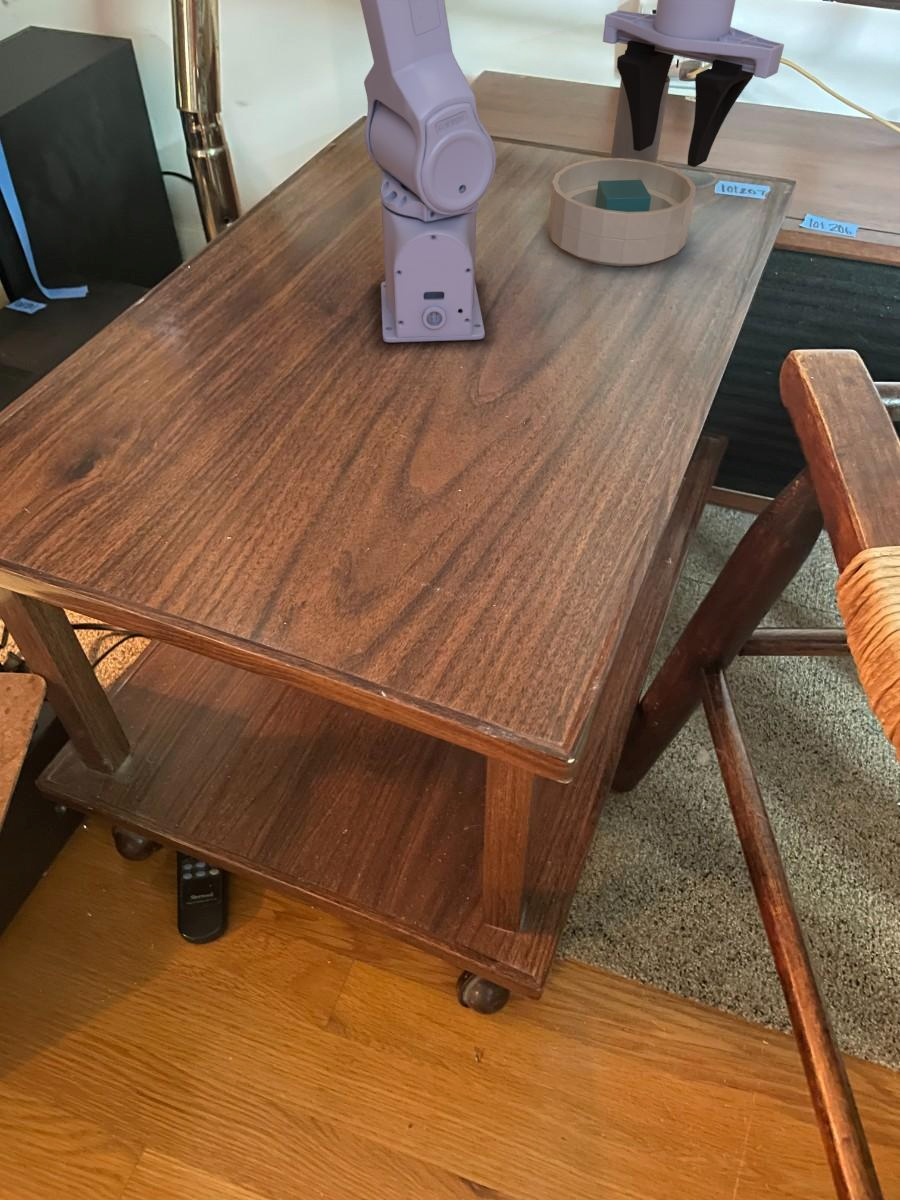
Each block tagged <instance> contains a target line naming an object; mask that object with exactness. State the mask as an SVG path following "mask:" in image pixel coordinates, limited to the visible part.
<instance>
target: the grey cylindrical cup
mask: <svg viewBox="0 0 900 1200" xmlns="http://www.w3.org/2000/svg"><path fill="white" fill-rule="evenodd" d="M670 83H671V77H670V75H668V76H667V79H666V83H665V86H664V90H663V94H662V98H661V103H660V109H659V116H658V123H657V129H656V134H655V137H654V141H653V144H652V145H651V146H649V147H647V148H645V149H643V150H641V151H637V150H634V149H633V133H632V123H631V115H630V109H629V103H628V99H627V95H626V91H625V88H624V84H623V81H622V79H621V78H620V84H619V92H618V98H617V99H618V101H617V109H616V115H615V122H614V131H613V139H612V144H611V145H612V146H611V155H610V158H627V159H638V160H645V161H649V162H654V163H657V162H658V156H659V155H658V154H659V149H660V144H661V137H662V131H663V125H664V119H665V113H666V106H667V101H668V95H669V89H670Z"/></svg>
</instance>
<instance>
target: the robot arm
mask: <svg viewBox="0 0 900 1200" xmlns="http://www.w3.org/2000/svg"><path fill="white" fill-rule="evenodd" d="M359 1H360V6H361V11H362V14H363V20H364V25H365V30H366V33H367V37H368V42H369V47H370V51H371V55H372V61H373V64H372V67H371V68H370V69H369V71H368V73H367V74H366V76H365V78H364V81H363V85H364V89H365V94H366V100H367V113H366V119H365V124H364V142H365V147H366V150H367V152H368V155H369V158H370V159H371V160H372V162H373V163H374V164H375V165H376V166H377V167H378V168H379V169H380V170H381V186H380V200H381V202H380V203H381V222H382V240H383V241H382V243H383V259H384V260H383V261H384V280H385V281H382V282H381V283H380V295H381V296H380V297H381V322H382V326H381V327H382V340H383V341H384V342H386V343H416V342H418V343H419V342H421V343H422V342H449V341H476V340H477V341H479V340H483V339H484V338H485V337H486V336H485V335H486V332H485V326H484V321H483V316H482V311H481V306H480V300H479V295H478V290H477V286H476V278H475V277H476V275H475V274H476V245H477V244H476V242H477V241H476V240H477V212H478V210H479V202H480V201H481V200H482V199H483V197H484V196H485V195H486V193H487V192H488V190H489V188H490V186H491V184H492V182H493V179H494V176H495V172H496V165H497V154H496V148H495V144H494V140H493V139H492V137H491V135H490V133H488V132H489V131H487V129H486V128H485V127H484V125H483V124H482V122H481V119H480V116H479V113H478V108H477V101H476V96H475V93H474V91H473V89H472V87H471V85H470V84H469V82H468V80H467V78H466V76H465V74H464V72H463V70H462V69H461V66H460V65H459V63H458V61H457V59H456V57H455V55H454V52H453V47H452V39H451V34H450V28H449V21H448V13H447V9H446V2H445V0H359ZM736 2H737V1H736V0H657V3H656V11H655V14H651V13H643V12H633V11H632V12H631V11H628V10H621V9H618V10H615V11H612V12H609V13H607V14H605V19H604V25H603V26H604V28H603V35H602V43H606V44H611V45H613V44H614V45H615V44H617V43H619V44H622V45H626V49H625V50H624V54H621V55H619V56H617V58H616V59H617V60H616V69H617V72H618V73H619V76H620V80H621V79H622V81H623V84H624V88H625V91H626V95H627V99H628V103H629V109H630V115H631V123H632V133H633V149H634V150H637V151H641V150H643V149H645V148H647V147H649V146H651V145H652V144H653V141H654V137H655V134H656V129H657V123H658V116H659V109H660V103H661V98H662V94H663V90H664V86H665V83H666V79H667V76H669V72H670V69H671V66H672V63H673V60H674V58H675V56H677V57H681V58H684V59H685V58H686V59H690V60H694V61H699V62H703V63H707V64H711V68H707V69H704V70H702V71H700V72H697V73H696V74H695V79H694V86H695V87H694V88H695V106H694V117H693V118H694V119H693V126H692V127H693V128H692V132H691V137H690V141H689V147H688V152H687V166H689V167H693V168H696V167H698V166H700V165H702V164H703V163H705V162H707V160H708V158H709V155H710V152H711V150H712V147H713V145H714V142H715V141H716V138H717V135H718V134H719V132H720V129H721V127H722V126H723V124H724V122H725V120H726V118H727V116H728V115H729V113H730V111H731V110H732V108H733V106H734V105H735V103H736V101H737V100H738V99H739V97H740V95H741V94H742V93H743V91H744V90H745V89H746V86H748V84H749V83H750V82H751V80H752V79H753V77H756V78H760V79H765V80H766V79H768V78H770V77H772V76H774V75H776V74H777V73H778V72H779V68H780V64H781V60H782V55H783V51H784V47H785V44H784V43H781V42H777V41H773V40H769V39H766V38H763V37H760V36H757V35H754V34H751V33H749V32H747V31H743V30H741V29H738V28H735V27H732V26H731V25H732V20H733V15H734V10H735V5H736Z"/></svg>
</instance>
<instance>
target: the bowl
mask: <svg viewBox="0 0 900 1200" xmlns="http://www.w3.org/2000/svg"><path fill="white" fill-rule="evenodd" d="M612 180H642V182H643V184H644V186H645V187H646V189H647V191H648V193H649V194H650V196H651V202H650V208H649V211H647V212H623V211H613V210H605V209H601V208H596V207H595V204H596V196H597V187H598V181H612ZM696 193H697V186H696V185H695V183H694V182H693V180H692V179H691V177H689V176H687V175H686V174H685V173H683V172H681V171H680V170H678V169H675V168H673V167H670V166H668V165H665V164H662V163H659V162H658V163H657V162H656V163H654V162H649V161H645V160H638V159H627V158H611V157H599V158H591V159H587V160H586V159H585V160H581V161H577V162H574V163H572V164H571V163H570V164H568V165H566V166H564V167H562V168H561V169H560V170H558V171H557V172H556V173H555V175H554V176H553V179H552V181H551V192H550V203H549V214H548V227H547V231H548V233H549V236H550V240H551V241H552V242H553V243H554V244H555V245H557V246H558V247H559V249H561V250H564V251H566V252H568V254H571V255H572V256H574V257H576V258H578V259H581V260H583V261H587V262H589V263H594V264H598V265H604V266H613V267H636V266H644V265H650V264H653V263H656V262H659V261H663V260H665V259H668V258H670V257H672V256H675V255H677V253H679V252H680V251H681V250H682V249H683V248H684V247H685V245H686V244H687V240H688V239H687V238H688V233H689V229H690V224H691V219H692V214H693V209H694V203H695V198H696Z"/></svg>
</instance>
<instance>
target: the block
mask: <svg viewBox="0 0 900 1200" xmlns="http://www.w3.org/2000/svg"><path fill="white" fill-rule="evenodd" d="M650 202H651V196H650V194H649V193H648V191H647V189H646V187H645V186H644V184H643V182H642V180H612V181H598V187H597V196H596V204H595V207H596V208H601V209H605V210H613V211H623V212H647V211H649V208H650Z"/></svg>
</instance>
